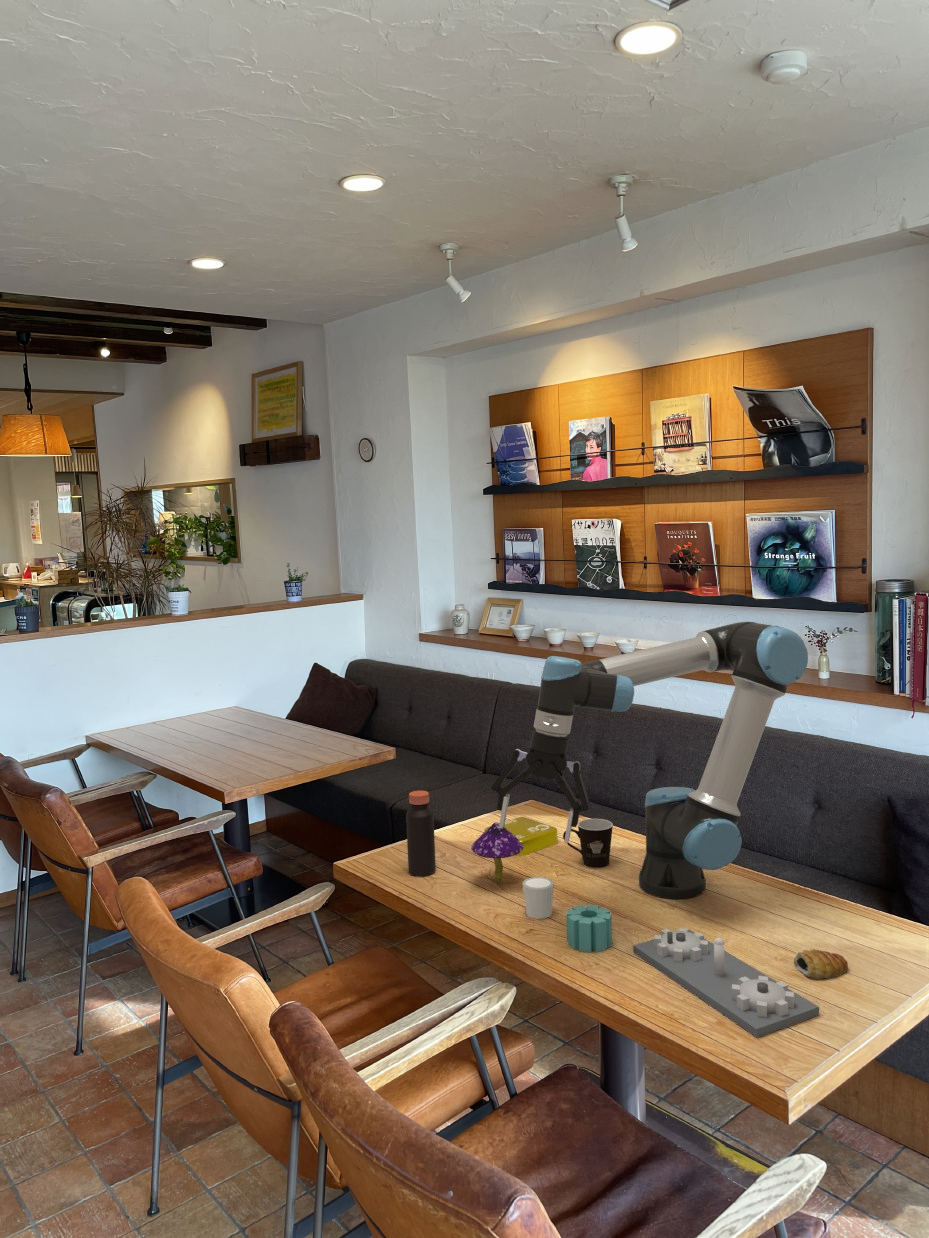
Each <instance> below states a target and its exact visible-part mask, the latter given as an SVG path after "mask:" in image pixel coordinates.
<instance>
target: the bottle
mask: <svg viewBox="0 0 929 1238" xmlns="http://www.w3.org/2000/svg"><path fill="white" fill-rule="evenodd" d="M408 800H409V801H408V802H409V806H410V808H409V809H408V811H407V812H406V814H405V822H406V844H407V845H406V846H407V864H408V865H407V867H408V869H407V870H408V873H409V874H410V875H411V876H414V877H428V876H432V875H433V874H434V873H435V872H436V871H437V868H436V863H437V862H436V844H435V820H434V819H435V818H434V811H433V810H432V809H431V807H429V804H430V793H429V791H426V790H413V791H410V792H409V794H408Z"/></svg>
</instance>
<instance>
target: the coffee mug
mask: <svg viewBox="0 0 929 1238" xmlns="http://www.w3.org/2000/svg"><path fill="white" fill-rule="evenodd" d="M613 827H614V825H613V822H612V821H610V820H608V819H604V818H586V819H582V820H580V821H578V824H577V828H578V830H577V829H574V828H571V833H572V832H573V833H575V834H576V836H577V837H578V839H579V843H580V849H579V848H578V847H577V846H574V845H573V844H571V843H570V842H568V843H566V844H567V846H569V847H571V848H572V849H573V850H575V851H577V852H578V853H580V855H581V857H582V858H581V859H582V864H583V865H584V866H585V867H587V868H592V869H601V868H602V869H603V868H605V867H608V866H609V864H610V858H611V857H610V856H611V846H612V836H613V835H612V833H613ZM565 834H566V830H565V831H564V832H563V835H562V838H563V840H565Z"/></svg>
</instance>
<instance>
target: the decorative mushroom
mask: <svg viewBox="0 0 929 1238" xmlns="http://www.w3.org/2000/svg"><path fill="white" fill-rule="evenodd" d="M499 824H500V822H497V821H496V822H493V824H492V825H490V826H488V827H489V828H488V829H487V830H486V831H485V832H483V833H482V834H481V835H480V836H479V837H478V838H477V839H476V840H474V842H473V843H472V845H471V848H470V849H471V850H472V852H473V854H475V855H476V856H479V857H482V858H487V859H492V860H493V862H494V867H495V869H494V882H495V884H502V883H503V871H504V866H503V861H502V859H504V858H510V857H514V856H515V855H517V854H519V853H520V852H521V851H522V850H523V848H524V845H523V844H522V843H521V842H520V841H519V840H518V839H517V837H516V836H515V835H513V834H512V833H511V832H510V831H509V830H507V829H506V828H505V827H503V828H499ZM515 857H516V856H515Z"/></svg>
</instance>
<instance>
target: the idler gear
mask: <svg viewBox="0 0 929 1238" xmlns="http://www.w3.org/2000/svg"><path fill="white" fill-rule="evenodd" d="M565 916H566V918H565V921H566V942H567V946H569V947H570V948H572V949H573V950H577V949H578V951H579V952H583V953H590V954H591V953H592V952H593V951H594V952H595V953H600V952H604V951H606V950H607V949H608V948H611V945H612V944H613V923H612V919H613V917H612V913H611V910H609V909H607V908H606V907H605V906H602V907H600V905H597V904H586V906H585V905H583V904H579V905H576V906H572V907H571V909H570V908H568V911H566V914H565Z"/></svg>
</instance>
